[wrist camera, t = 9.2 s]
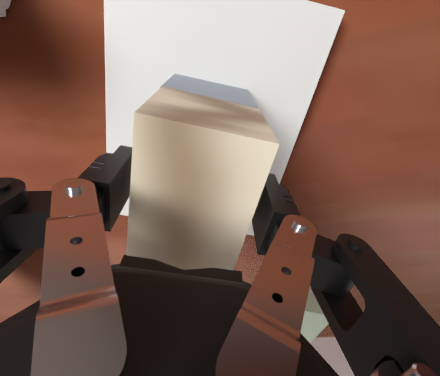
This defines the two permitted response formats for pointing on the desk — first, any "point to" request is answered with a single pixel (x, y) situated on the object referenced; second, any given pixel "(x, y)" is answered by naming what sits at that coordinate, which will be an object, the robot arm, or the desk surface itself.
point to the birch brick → (195, 178)
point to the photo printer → (4, 7)
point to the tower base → (217, 59)
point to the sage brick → (312, 318)
